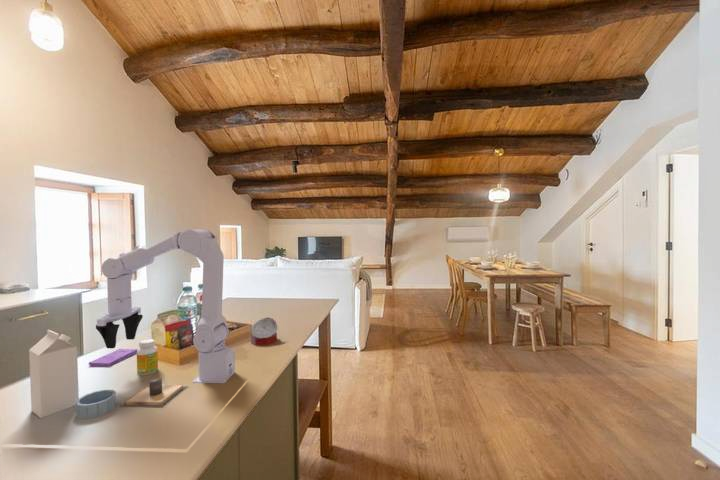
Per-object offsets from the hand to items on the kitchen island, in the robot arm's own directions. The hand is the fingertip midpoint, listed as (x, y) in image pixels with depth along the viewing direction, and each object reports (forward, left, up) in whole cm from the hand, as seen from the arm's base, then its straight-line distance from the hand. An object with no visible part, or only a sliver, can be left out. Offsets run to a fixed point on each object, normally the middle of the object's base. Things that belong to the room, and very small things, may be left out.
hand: (121, 343), depth 100 cm
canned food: (-32, -33, -10) cm, 47 cm away
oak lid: (-19, +12, -10) cm, 24 cm away
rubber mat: (-19, +12, -10) cm, 24 cm away
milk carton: (+3, +18, -10) cm, 21 cm away
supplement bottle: (-6, -3, -10) cm, 12 cm away
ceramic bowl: (-9, +19, -10) cm, 23 cm away
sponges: (+13, -13, -11) cm, 22 cm away
